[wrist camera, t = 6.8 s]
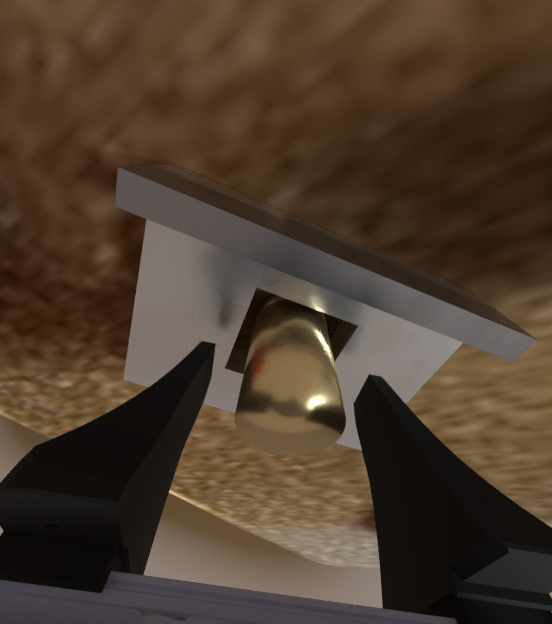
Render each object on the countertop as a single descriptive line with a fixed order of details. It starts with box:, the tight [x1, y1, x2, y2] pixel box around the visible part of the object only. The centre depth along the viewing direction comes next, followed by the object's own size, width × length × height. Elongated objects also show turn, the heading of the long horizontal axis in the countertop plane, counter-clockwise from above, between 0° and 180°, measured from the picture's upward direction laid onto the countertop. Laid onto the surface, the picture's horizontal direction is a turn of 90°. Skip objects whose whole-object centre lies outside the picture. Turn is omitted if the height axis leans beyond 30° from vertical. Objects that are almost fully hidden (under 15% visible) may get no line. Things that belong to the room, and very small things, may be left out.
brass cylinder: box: [235, 294, 346, 457], centre depth 13 cm, size 4×4×7 cm
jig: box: [115, 164, 537, 451], centre depth 14 cm, size 16×12×4 cm
